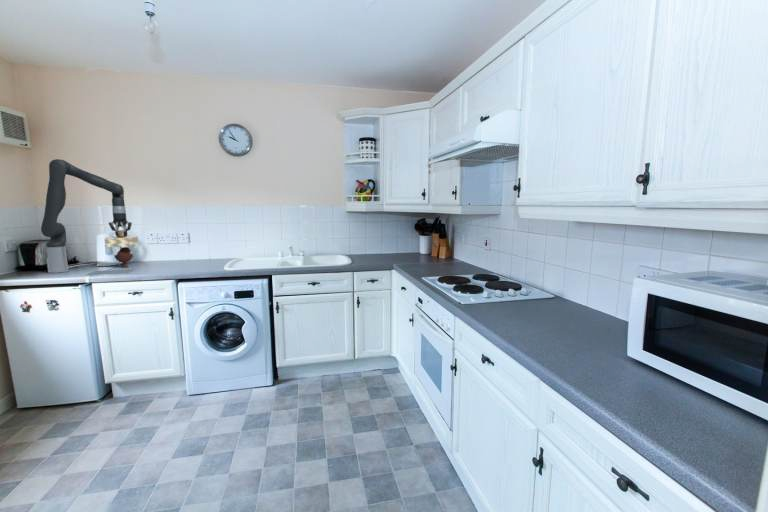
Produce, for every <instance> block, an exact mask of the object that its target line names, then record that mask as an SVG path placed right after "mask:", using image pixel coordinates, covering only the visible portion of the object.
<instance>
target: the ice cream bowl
mask: <svg viewBox="0 0 768 512" xmlns="http://www.w3.org/2000/svg"><path fill="white" fill-rule="evenodd" d="M131 252H132V251H131V249H130V248H129V247H122V248H121V247H120V250H119V251H118V252H117V253H116V254H114V258H115V259H116V261H118V262H120V263H122V266H121V267H120V269H126V268H127V269H129V268H130V266H129V265H127V263H128V262H130V261H131V260H132V259H133V257H134V254H132V253H131Z"/></svg>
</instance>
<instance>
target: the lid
mask: <svg viewBox="0 0 768 512" xmlns="http://www.w3.org/2000/svg"><path fill="white" fill-rule="evenodd" d="M104 243H105V244H104V245H105V248H115V247H116V248H121V247H122V248H123V247H127V248H129V247H133V246H137V245H139V237H138V236H136V235H135V236H126V237H124V230H120V229H119V230H118V237H117V236H112V237H107V238H106V237H105V238H104Z"/></svg>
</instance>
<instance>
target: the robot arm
mask: <svg viewBox="0 0 768 512" xmlns="http://www.w3.org/2000/svg"><path fill="white" fill-rule="evenodd" d="M48 171H49V174H48V175H49V179H48V184H47V189H46V197H45V209H44V214H43V219H42V222H41V227H40V232H41V234H42V235H43V236H44V237H47V238H49V240H48V241H47V242H46V243H45V245H46V252H47V258H46V266H47V271H48V273H49V274H50V273H51V274H55V273H66V272H68V271H69V264H68V256H67V250H66V242H67V233H66V228H65V226H64V225H63V223H61V222H58V217H59V215H60V214H61V212H62V211H63V209H64V207H65V205H66V200H67V199H66V198H67V192H66V185H65V179H66V175H68V176H71V177H74V178H77V179H79V180H81V181H83V182H86V183H88V184H90V185H91V186H95V187H97V188H100V189H103V190H105V191H108V192H110V193H111V197H112V198H111V203H112V204H111V205H112V206H111V207H112V208H111V209H112V218H113V221H112V222H111V221H109V222H108V225H109V227H110V230H111V231H113V232H114V234H115V237H118V231H119V230H120V227H121V228H122V229H123V230H124V237H128V231H131V229H132V224H133V222H131V221H128V220H127V211H126V205H125V198H124V197H125V191H124V189H125V188H124V187H123V186H122V185H121V184H119V183H116V182H114V181H110V180H108V179H107V178H104V177H101V176H99V175H97V174H94V173H91V172H89V171H87V170H83V169H81V168H78V167H77V166H74V165H73V164H71V163H70V162H68V161H66V160H64V159H58V158H55V159H53V160H51V161H50V162H49V164H48Z"/></svg>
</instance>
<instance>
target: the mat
mask: <svg viewBox="0 0 768 512" xmlns="http://www.w3.org/2000/svg"><path fill="white" fill-rule="evenodd" d="M136 270H137V269H133V268H132V269H114V270H113V269H112V270H110V269H108V270H95V271H92V272H89V273H87V274H85V276H98V275H124V274H125V275H126V274H130V273H132V272H134V271H136Z"/></svg>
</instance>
